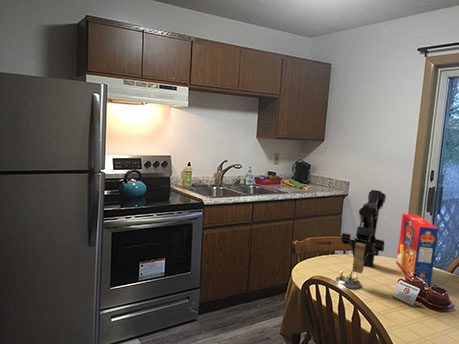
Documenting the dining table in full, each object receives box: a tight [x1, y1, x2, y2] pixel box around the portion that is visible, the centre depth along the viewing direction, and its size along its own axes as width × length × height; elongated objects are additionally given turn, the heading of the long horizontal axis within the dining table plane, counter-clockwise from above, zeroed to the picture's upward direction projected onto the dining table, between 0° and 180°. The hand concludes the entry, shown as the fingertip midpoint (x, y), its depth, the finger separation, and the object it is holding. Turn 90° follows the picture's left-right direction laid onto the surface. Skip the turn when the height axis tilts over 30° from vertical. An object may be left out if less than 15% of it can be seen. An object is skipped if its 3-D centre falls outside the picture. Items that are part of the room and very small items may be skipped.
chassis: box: [335, 270, 361, 290], centre depth 171 cm, size 11×11×5 cm
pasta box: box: [395, 213, 439, 286], centre depth 187 cm, size 28×8×28 cm, turn 170°
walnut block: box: [351, 243, 366, 274], centre depth 168 cm, size 4×4×12 cm
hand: (358, 258), depth 167 cm, fingers closed on walnut block, 4 cm apart
